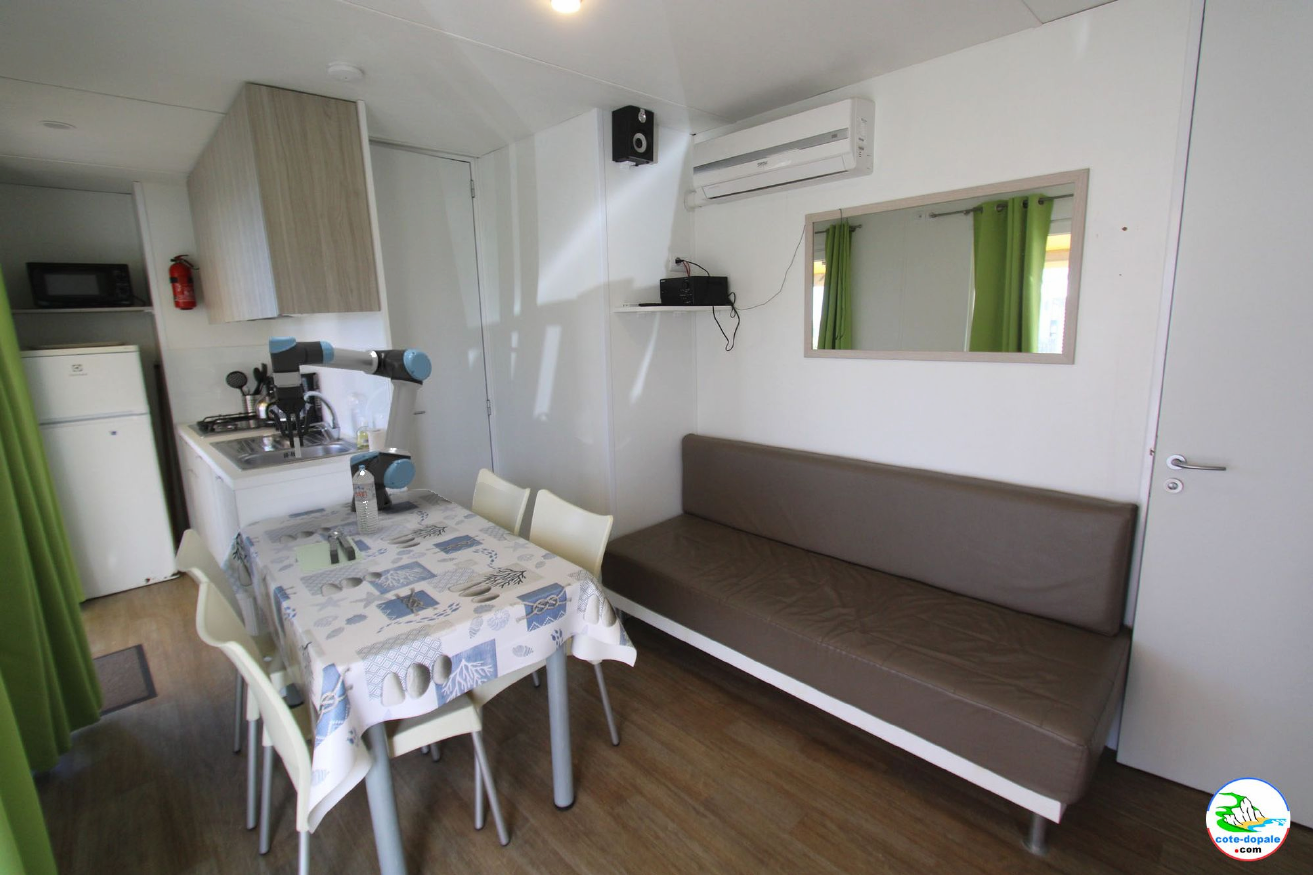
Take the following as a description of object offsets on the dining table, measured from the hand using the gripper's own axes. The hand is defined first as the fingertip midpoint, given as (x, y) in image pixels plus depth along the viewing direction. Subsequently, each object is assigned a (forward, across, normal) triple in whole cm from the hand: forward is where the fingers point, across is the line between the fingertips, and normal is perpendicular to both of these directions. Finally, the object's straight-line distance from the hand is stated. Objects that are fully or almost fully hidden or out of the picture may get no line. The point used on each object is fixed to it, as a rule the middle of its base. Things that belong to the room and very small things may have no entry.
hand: (298, 456), depth 200 cm
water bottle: (+31, -18, +3) cm, 36 cm away
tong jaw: (+29, -5, +19) cm, 35 cm away
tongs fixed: (+29, -7, +16) cm, 34 cm away
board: (+30, -3, +16) cm, 35 cm away
